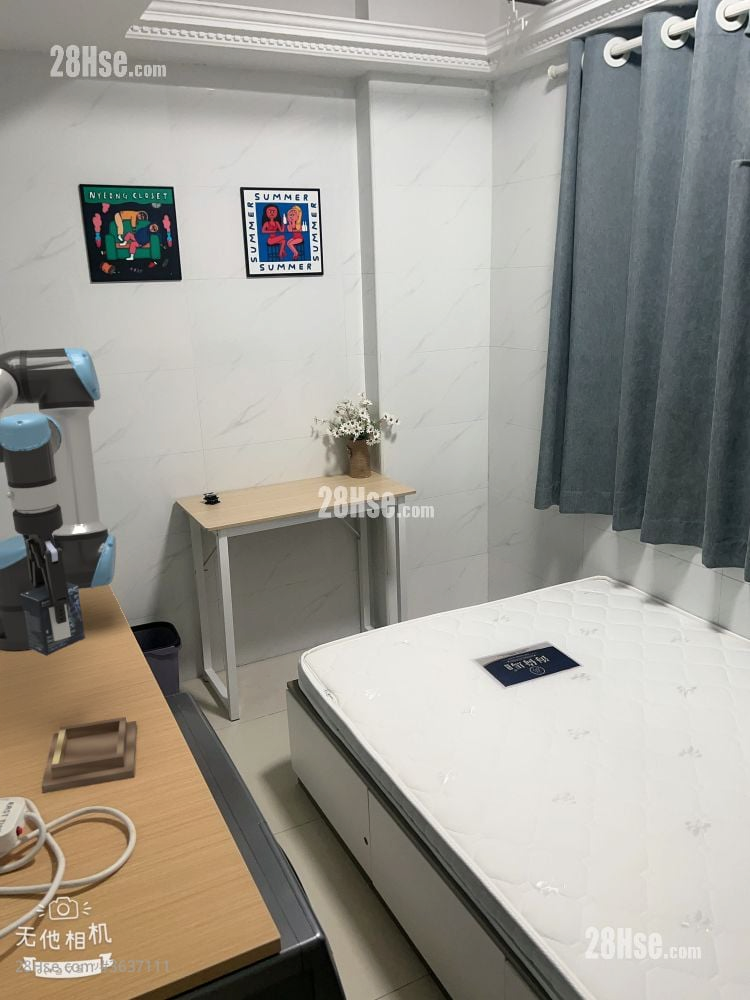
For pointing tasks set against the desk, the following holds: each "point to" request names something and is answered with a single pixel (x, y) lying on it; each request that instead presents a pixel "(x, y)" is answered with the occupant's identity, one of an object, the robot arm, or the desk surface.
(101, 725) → the socket
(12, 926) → the desk surface
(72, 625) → the box
